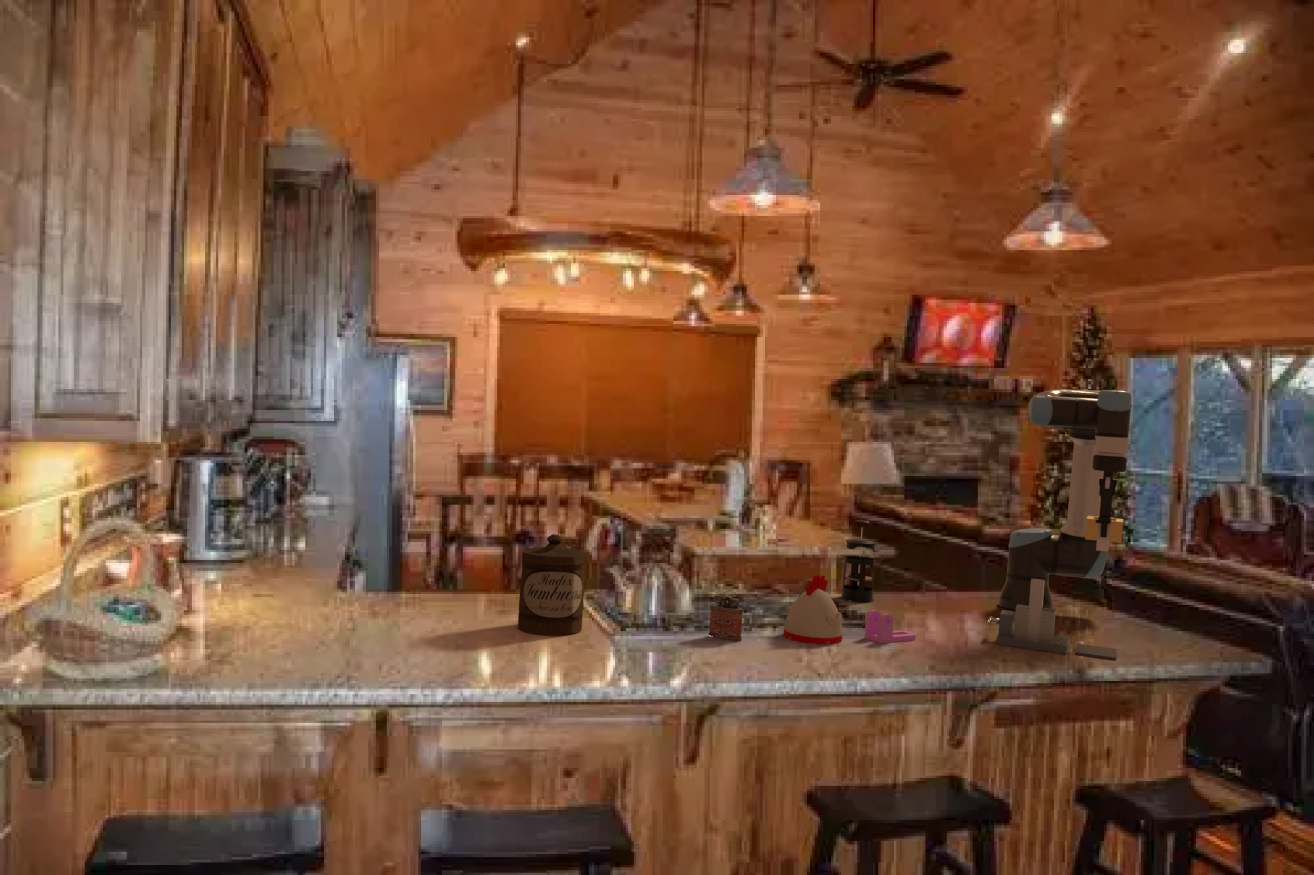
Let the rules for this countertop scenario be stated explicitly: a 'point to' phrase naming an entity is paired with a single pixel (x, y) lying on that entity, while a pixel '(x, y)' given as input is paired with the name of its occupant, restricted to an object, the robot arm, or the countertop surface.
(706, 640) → the countertop surface
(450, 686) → the countertop surface
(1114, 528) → the orange-brown square frame
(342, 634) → the countertop surface
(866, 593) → the french press
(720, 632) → the lighter
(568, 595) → the wooden container
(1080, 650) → the rubber mat
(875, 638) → the bracket
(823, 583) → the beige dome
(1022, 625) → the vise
